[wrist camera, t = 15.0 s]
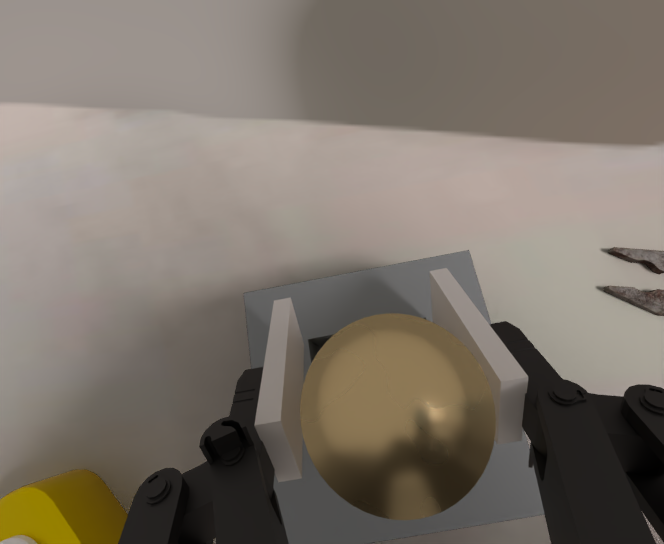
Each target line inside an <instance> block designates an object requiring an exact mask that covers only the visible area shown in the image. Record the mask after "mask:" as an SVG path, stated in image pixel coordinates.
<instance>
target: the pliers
mask: <svg viewBox="0 0 664 544" xmlns="http://www.w3.org/2000/svg"><path fill="white" fill-rule="evenodd" d="M608 253H609V254H612V255H614V256H617V257H619V258H621V259H624V260H626V261H629V262H631V263H632V262H633V263H635V262H636V263H637V262H638V263H642V264H645V265H647V267H649V268H650V270H652V271H653V272H655V273H657V274H661V273H664V251H656V250H643V249H630V248H617V247H614V248H612V249H610V250H609V251H608ZM604 291H605V292H607V293H609V294H611V295H614V296H616V297H618V298H620V299H622V300H624V301H627V302H629V303H631V304H633V305H635V306H638V307H640V308H642V309H644V310H646V311H648V312H651V313H653V314H655V315H658V316H664V290H659V289H657V290H653V291H650V292H642V291H640V290H638V289H636V288H633V287H619V286H607V287H604Z"/></svg>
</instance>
